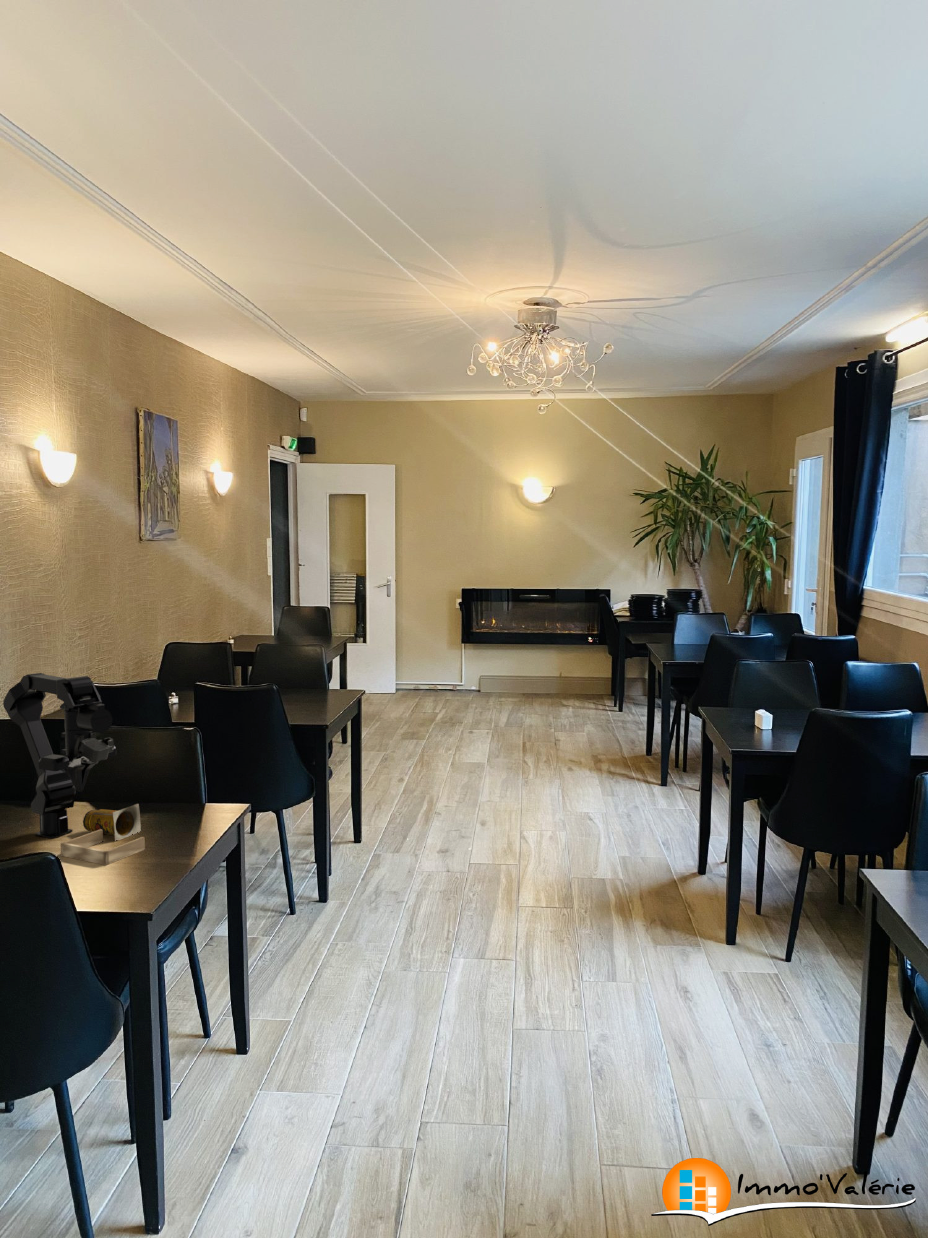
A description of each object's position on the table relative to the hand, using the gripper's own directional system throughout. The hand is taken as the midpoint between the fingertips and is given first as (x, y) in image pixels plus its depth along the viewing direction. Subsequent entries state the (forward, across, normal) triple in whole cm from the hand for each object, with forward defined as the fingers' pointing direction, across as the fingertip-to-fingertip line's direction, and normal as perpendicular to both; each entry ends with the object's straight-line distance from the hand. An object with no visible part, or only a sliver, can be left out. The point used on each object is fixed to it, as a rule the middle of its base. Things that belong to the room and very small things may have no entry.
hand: (79, 791), depth 219 cm
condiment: (+9, +8, -7) cm, 14 cm away
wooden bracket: (+13, -3, -10) cm, 17 cm away
